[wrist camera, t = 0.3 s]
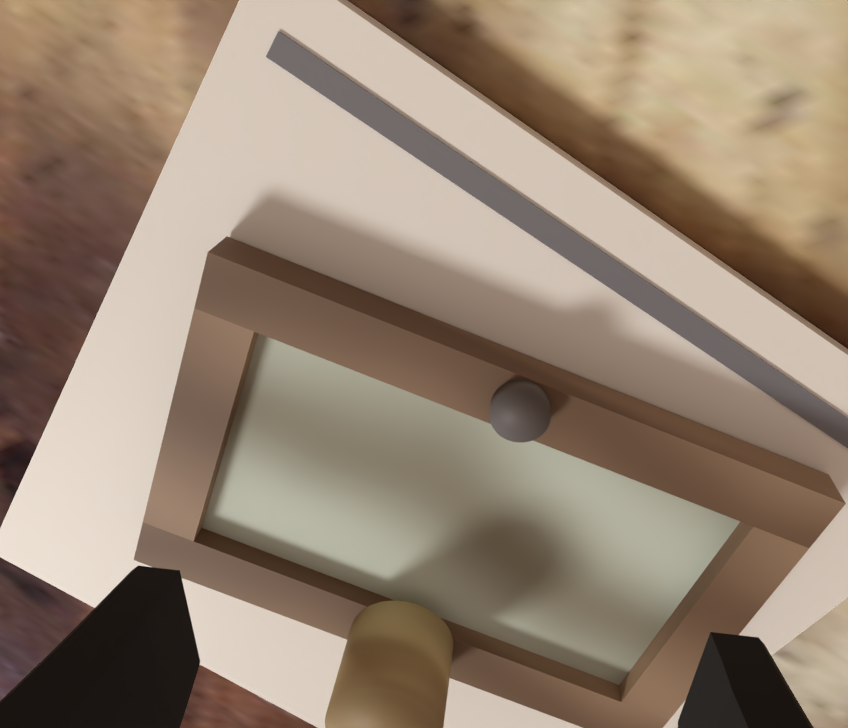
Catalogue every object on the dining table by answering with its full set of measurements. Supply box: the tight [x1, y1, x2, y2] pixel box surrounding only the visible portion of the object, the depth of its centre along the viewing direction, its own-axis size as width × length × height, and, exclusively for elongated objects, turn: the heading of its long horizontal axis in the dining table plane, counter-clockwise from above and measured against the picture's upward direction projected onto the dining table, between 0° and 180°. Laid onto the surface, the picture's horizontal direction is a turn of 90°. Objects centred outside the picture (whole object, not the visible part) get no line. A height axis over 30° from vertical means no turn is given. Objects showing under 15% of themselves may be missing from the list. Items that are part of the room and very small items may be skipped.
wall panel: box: [0, 0, 848, 728], centre depth 22 cm, size 20×21×1 cm
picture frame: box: [134, 236, 846, 728], centre depth 19 cm, size 11×16×4 cm
